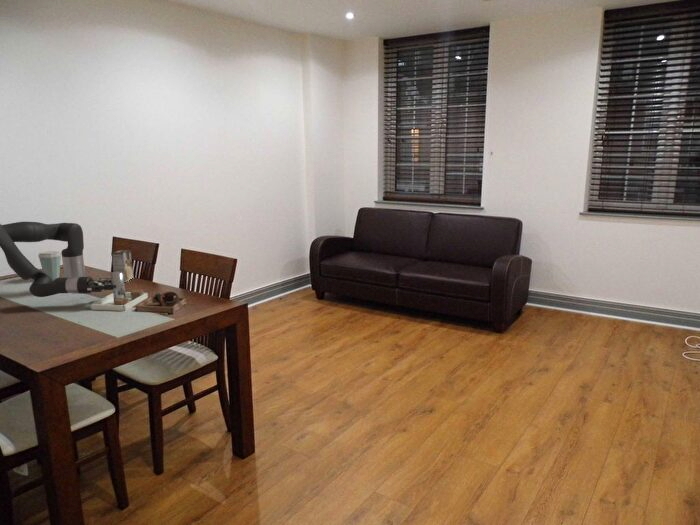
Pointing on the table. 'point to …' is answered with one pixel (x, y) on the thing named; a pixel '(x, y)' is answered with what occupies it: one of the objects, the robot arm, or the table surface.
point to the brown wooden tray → (144, 307)
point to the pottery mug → (167, 299)
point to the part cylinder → (118, 285)
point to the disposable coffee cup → (50, 263)
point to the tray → (108, 304)
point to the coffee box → (123, 263)
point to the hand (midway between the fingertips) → (117, 284)
